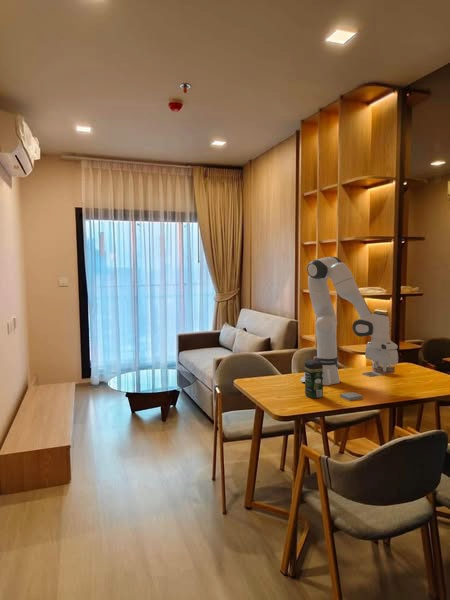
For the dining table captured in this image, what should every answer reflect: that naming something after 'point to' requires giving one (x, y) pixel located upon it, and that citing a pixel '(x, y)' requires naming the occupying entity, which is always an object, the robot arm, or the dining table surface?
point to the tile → (351, 396)
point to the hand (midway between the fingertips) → (381, 370)
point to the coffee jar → (313, 379)
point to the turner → (380, 371)
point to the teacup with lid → (375, 366)
